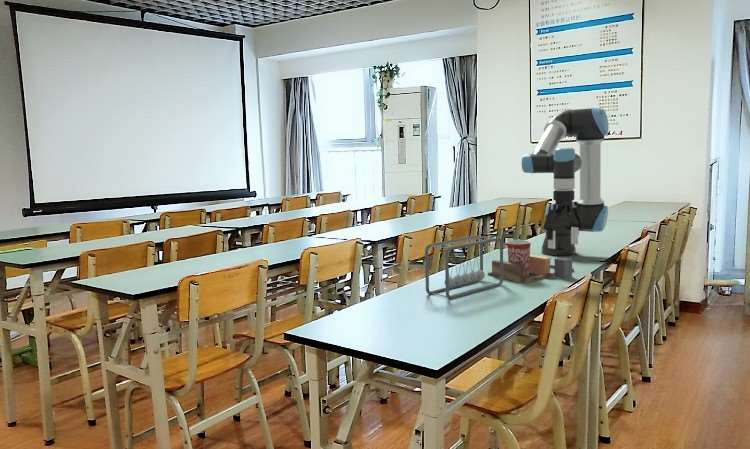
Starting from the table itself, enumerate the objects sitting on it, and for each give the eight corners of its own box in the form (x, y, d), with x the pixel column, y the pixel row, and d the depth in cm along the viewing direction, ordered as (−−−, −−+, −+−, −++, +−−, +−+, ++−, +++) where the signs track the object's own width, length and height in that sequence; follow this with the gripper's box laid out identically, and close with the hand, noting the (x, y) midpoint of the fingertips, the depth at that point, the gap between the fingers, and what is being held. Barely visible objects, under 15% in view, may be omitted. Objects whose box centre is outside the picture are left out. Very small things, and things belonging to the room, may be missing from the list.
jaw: (521, 268, 241) (521, 252, 240) (550, 274, 229) (550, 257, 229) (516, 270, 239) (516, 254, 238) (545, 275, 228) (545, 258, 227)
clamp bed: (537, 264, 249) (537, 250, 249) (573, 271, 234) (573, 256, 234) (488, 275, 233) (487, 260, 232) (524, 282, 218) (524, 266, 217)
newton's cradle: (447, 300, 197) (446, 248, 195) (425, 295, 205) (424, 244, 203) (503, 285, 216) (503, 236, 214) (481, 280, 224) (480, 234, 222)
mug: (524, 280, 223) (524, 244, 221) (502, 277, 229) (502, 242, 227) (539, 273, 232) (539, 239, 230) (518, 271, 238) (518, 238, 236)
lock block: (562, 275, 229) (562, 257, 228) (571, 277, 225) (572, 258, 224) (554, 276, 226) (554, 258, 225) (564, 278, 222) (564, 260, 221)
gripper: (576, 187, 231) (575, 241, 234) (533, 191, 217) (533, 248, 220) (593, 188, 225) (592, 243, 228) (550, 192, 211) (549, 251, 214)
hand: (563, 246), depth 224 cm, fingers open, 13 cm apart
